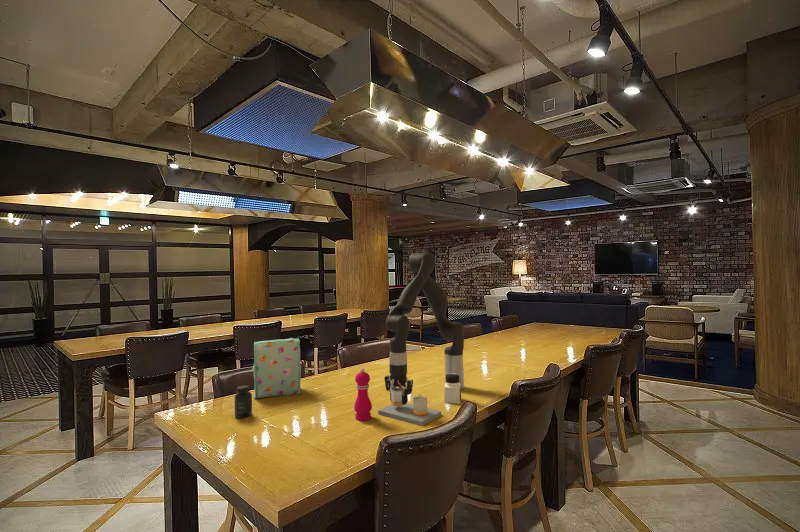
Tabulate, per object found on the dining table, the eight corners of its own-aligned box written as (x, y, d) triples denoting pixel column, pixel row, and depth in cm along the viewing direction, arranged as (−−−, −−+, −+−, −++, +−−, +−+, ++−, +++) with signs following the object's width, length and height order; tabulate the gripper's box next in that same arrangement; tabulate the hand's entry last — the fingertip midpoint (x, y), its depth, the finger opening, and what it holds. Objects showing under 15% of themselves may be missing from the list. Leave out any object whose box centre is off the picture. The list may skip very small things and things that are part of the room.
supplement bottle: (255, 413, 165) (255, 385, 166) (244, 419, 159) (244, 389, 159) (242, 412, 168) (242, 383, 168) (230, 417, 161) (230, 388, 161)
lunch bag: (300, 386, 205) (299, 334, 206) (302, 395, 190) (301, 339, 190) (253, 391, 198) (252, 337, 198) (252, 401, 182) (251, 343, 183)
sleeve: (388, 404, 164) (388, 390, 164) (398, 400, 169) (398, 386, 169) (399, 407, 160) (399, 392, 161) (408, 403, 166) (408, 388, 166)
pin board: (398, 404, 174) (398, 384, 174) (441, 414, 160) (440, 393, 160) (378, 413, 163) (377, 392, 163) (421, 425, 149) (421, 402, 149)
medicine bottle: (460, 403, 173) (459, 376, 173) (444, 403, 175) (443, 376, 175) (461, 398, 180) (460, 372, 180) (445, 398, 182) (445, 372, 182)
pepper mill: (358, 422, 153) (357, 371, 154) (351, 416, 160) (350, 367, 160) (374, 419, 157) (374, 369, 157) (367, 413, 163) (367, 365, 164)
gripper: (417, 362, 164) (417, 403, 163) (390, 358, 173) (391, 397, 172) (406, 366, 158) (407, 408, 157) (379, 362, 167) (380, 401, 166)
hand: (398, 402), depth 165 cm, fingers closed on sleeve, 5 cm apart
